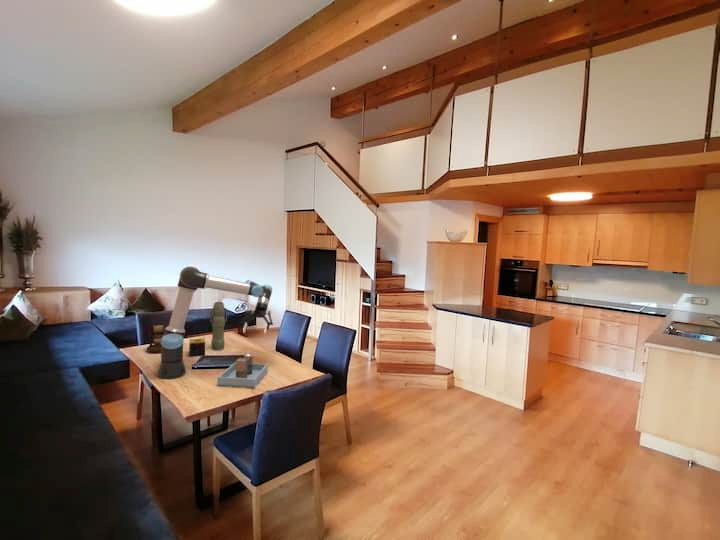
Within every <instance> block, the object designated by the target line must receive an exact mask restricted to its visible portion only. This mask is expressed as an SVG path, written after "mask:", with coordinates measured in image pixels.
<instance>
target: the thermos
mask: <svg viewBox="0 0 720 540" xmlns="http://www.w3.org/2000/svg"><path fill="white" fill-rule="evenodd" d="M212 306H213V307H212V308H211V309H210V311H209V323H211V326H212V334H211V335H212V338H211V345H210V346H211V350H212V351H223V350H224V349H225V337H224V336H225V326H226V325H225V324H226V323H227V321H228V309H227V308H226V307H225V304H224V302H223V301H215V302H214V303H213V305H212Z"/></svg>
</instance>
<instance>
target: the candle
mask: <svg viewBox="0 0 720 540" xmlns="http://www.w3.org/2000/svg"><path fill="white" fill-rule="evenodd" d="M205 355H206V339H205V338H189V349H188V356H189V358H193V357H195V358H196V357H204V356H205Z"/></svg>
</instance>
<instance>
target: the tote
mask: <svg viewBox="0 0 720 540" xmlns="http://www.w3.org/2000/svg"><path fill="white" fill-rule="evenodd" d="M268 369H269V364H267V363H256V362H254V363H252V374H250V375H247V379H246V378H236V361H234V363H232V364H231V365H230V366H229V367H228V368H226V369H225V370H224V371H223V372H221V373H220V374H219V375H218V376H217V382H216V383H217V385H216V386H217V387H227V386H232V387H231V388H241V387H248V388H247V389H255V388H256V387H257V386H258V385H259V383H260V382H261V381H262V380H263V378H264V377H265V376H266V375H265V374H267V373H268V371H269V370H268ZM260 380H261V381H260ZM256 385H257V386H256ZM255 386H256V387H255Z"/></svg>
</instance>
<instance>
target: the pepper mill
mask: <svg viewBox="0 0 720 540" xmlns="http://www.w3.org/2000/svg"><path fill="white" fill-rule="evenodd" d="M242 358H248V364H247V375H250V374H252V363H253V355H252V353H251V352H247V353H244V354H243V356H242Z"/></svg>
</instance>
